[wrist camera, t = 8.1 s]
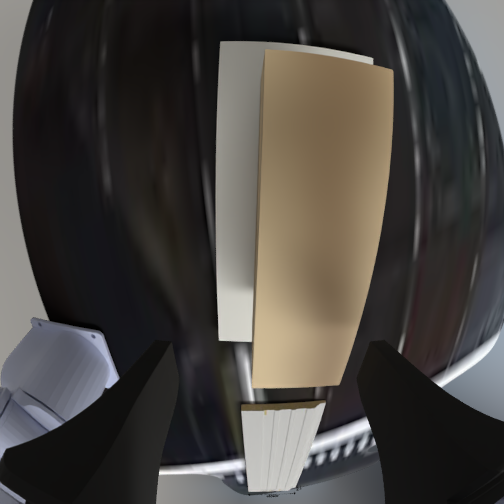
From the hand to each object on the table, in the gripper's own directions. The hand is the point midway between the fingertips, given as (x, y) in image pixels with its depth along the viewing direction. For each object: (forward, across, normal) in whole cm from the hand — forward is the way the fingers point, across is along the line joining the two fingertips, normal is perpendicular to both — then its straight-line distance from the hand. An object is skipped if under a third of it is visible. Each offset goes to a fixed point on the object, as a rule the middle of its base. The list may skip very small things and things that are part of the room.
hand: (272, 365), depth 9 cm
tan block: (+7, -2, -4) cm, 8 cm away
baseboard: (+11, -4, +31) cm, 33 cm away
